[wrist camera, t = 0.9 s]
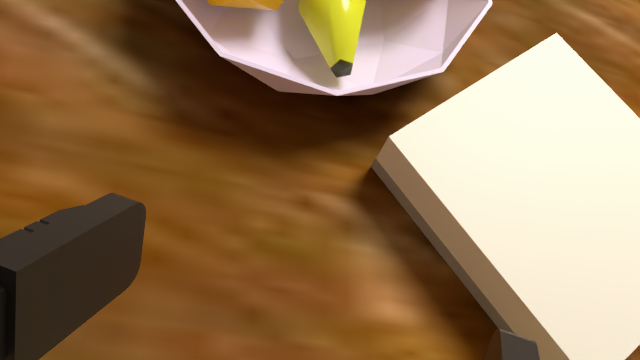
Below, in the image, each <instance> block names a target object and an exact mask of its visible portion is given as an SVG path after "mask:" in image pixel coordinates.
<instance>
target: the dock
mask: <svg viewBox="0 0 640 360" xmlns="http://www.w3.org/2000/svg"><path fill="white" fill-rule="evenodd" d="M371 168H372V169H373V170H374V171H375V173H376V174H377V175H378V176H379V178H380V179H381V180H382V181H383V183H384V184H385V185H386V187H387V188H388V189H389V190H390V192H391V193H392V194H393V195H394V197H395V198H396V199H397V201H398V202H399V203H400V204H401V206H402V207H403V208H404V209H405V211H406V212H407V213H408V215H409V216H410V217H411V218H412V220H413V221H414V222H415V223H416V225H417V226H418V227H419V228H420V230H421V231H422V232H423V234H424V235H425V236H426V237H427V239H428V240H429V241H430V242H431V244H432V245H433V246H434V248H435V249H436V250H437V251H438V253H439V254H440V255H441V256H442V258H443V259H444V260H445V262H446V263H447V264H448V265H449V267H450V268H451V269H452V270H453V272H454V273H455V274H456V276H457V277H458V278H459V279H460V281H461V282H462V283H463V284H464V286H465V287H466V288H467V289H468V291H469V292H470V293H471V295H472V296H473V297H474V298H475V300H476V301H477V302H478V303H479V305H480V306H481V307H482V309H483V310H484V311H485V312H486V314H487V315H488V316H489V317H490V319H491V320H492V321H493V323H494V324H495V325H496V326H497V328H499V329H502V330H505V331H507V332H510V333H513V334H516V335H519V336H522V337H525V338H527V339H530V340H533V341H535V342H536V343H537V347H538V353H539V358H540V360H625V359H626V358H627V357H628V356H629V355H630V354H631V353H632V352H633V351H634V350H635V349H636V348H637V347H638V346H639V345H640V118H639V117H638V116H637V115H636V114H635V113H634V112H633V111H632V110H631V109H630V108H629V107H628V106H627V105H626V104H625V103H624V102H623V101H622V100H621V99H620V98H619V97H618V96H617V95H616V94H615V93H614V92H613V91H612V89H611V88H610V87H609V86H608V85H607V84H606V83H605V82H604V81H603V80H602V79H601V78H600V77H599V76H598V75H597V74H596V73H595V72H594V71H593V70H592V69H591V68H590V67H589V66H588V65H587V64H586V63H585V62H584V61H583V59H582V58H581V57H580V56H579V55H578V54H577V53H576V52H575V51H574V50H573V49H572V48H571V47H570V46H569V45H568V44H567V43H566V42H565V41H564V40H563V39H562V38H561V37H560V36H559V35H558V34H557V33H555V34H554V35H552V36H551V37H549V38H547V39H546V40H544V41H542V42H541V43H539V44H538V45H536V46H534V47H533V48H531V49H530V50H528V51H526V52H525V53H523V54H521V55H520V56H518V57H517V58H515V59H513V60H512V61H510V62H508V63H507V64H505V65H504V66H502V67H500V68H499V69H497V70H496V71H494V72H492V73H491V74H489V75H487V76H486V77H484V78H483V79H481V80H479V81H478V82H476V83H475V84H473V85H471V86H470V87H468V88H466V89H465V90H463V91H462V92H460V93H458V94H457V95H455V96H453V97H452V98H450V99H449V100H447V101H445V102H444V103H442V104H441V105H439V106H437V107H436V108H434V109H432V110H431V111H429V112H428V113H426V114H424V115H423V116H421V117H420V118H418V119H416V120H415V121H413V122H411V123H410V124H408V125H407V126H405V127H403V128H402V129H400V130H399V131H397V132H395V133H394V134H392V135H390V136H389V137H388V139H387V140H386V142H385V144H384V146H383V147H382V149H381V151H380V152H379V154H378V156H377V157H376V159H375V161H374V162H373V164H372V166H371Z"/></svg>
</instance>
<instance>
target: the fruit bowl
mask: <svg viewBox="0 0 640 360" xmlns="http://www.w3.org/2000/svg"><path fill="white" fill-rule="evenodd" d="M176 2H177V3H178V4H179V6H180V7H181V8H182V9H183V11H184V12H185V13H186V15H187V16H188V17H189V18H190V20H191V21H192V22H193V24H194V25H195V26H196V27H197V29H198V30H199V31H200V33H201V34H202V35H203V36H204V38H205V39H206V40H207V41H208V43H209V44H210V45H211V46H212V47H213V49H214V50H215V51H216V52H217V53H218V55H219V56H221V57H222V58H224V59H226V60H227V61H229V62H230V63H232V64H234V65H235V66H237V67H239V68H240V69H242V70H244V71H245V72H247V73H249V74H250V75H252V76H253V77H255V78H257V79H258V80H260V81H262V82H263V83H265V84H267V85H268V86H270V87H272V88H273V89H275V90H277V91H280V92H293V93H306V94H319V95H333V96H348V95H373V94H376V93H379V92H382V91H385V90H389V89H392V88H395V87H398V86H401V85H404V84H407V83H410V82H413V81H417V80H420V79H423V78H426V77H429V76H432V75H435V74H438V73H441V72H444V70H445V69H446V68H447V66H448V65H449V64H450V62H451V61H452V59H453V58H454V57H455V55H456V54H457V52H458V51H459V50H460V48H461V47H462V45H463V44H464V43H465V41H466V40H467V39H468V37H469V36H470V34H471V33H472V32H473V30H474V29H475V27H476V26H477V25H478V23H479V22H480V20H481V19H482V18H483V16H484V15H485V14H486V12H487V11H488V9H489V8H490V7H491V5H492V0H176Z"/></svg>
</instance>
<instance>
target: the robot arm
mask: <svg viewBox="0 0 640 360" xmlns="http://www.w3.org/2000/svg"><path fill="white" fill-rule="evenodd" d="M145 219H146V209H145V206H144V204H142V203H140V202H137V201H135V200H132V199H129V198H126V197H123V196H120V195H117V194H115V193H110V194H107V195H105V196H103V197H101V198H99V199H97V200H95V201H93V202H91V203H89V204H87V205H85V206H84V205H82V206H78V207H73V208H68V209H64V210H59V211H57V212H55V213H53V214H51V215H49V216H47V217H45V218H43V219H40V222H37V221H36V222H34V223H32V224H30V225H28V226H26V227H25V228H24V230H22V229H20V230H18V231H16V232H14V233H11V234H9V235H7V236H5V237H3V238H1V239H0V360H38V359H40V358H41V357H42V356H43V355H45V354H46V353H47V352H48V351H50V350H51V349H52V348H53V347H55V346H56V345H57V344H58V343H60V342H61V341H62V340H63V339H65V338H66V337H67V336H68V335H70V334H71V333H72V332H73V331H75V330H76V329H77V328H78V327H80V326H81V325H82V324H83V323H85V322H86V321H87V320H88V319H90V318H91V317H92V316H93V315H95V314H96V313H97V312H98V311H100V310H101V309H102V308H103V307H105V306H106V305H107V304H108V303H110V302H111V301H112V300H113V299H115V298H116V297H117V296H118V295H120V294H121V293H122V292H123V291H125V290H126V289H127V288H128V287H129V286H130V285H131V283H132V282H133V280H134V279H135V277H136V275H137V273H138V270H139V267H140V262H141V253H142V245H143V236H144V228H145ZM482 360H540V358H539V353H538V347H537V343H536V342H535V341H533V340H530V339H527V338H525V337H522V336H519V335H516V334H513V333H510V332H507V331H505V330H502V329H499V328H498V329H496V331H495V332H494V334H493V336H492V338H491V340H490V342H489V345H488V347H487V350H486V352H485V354H484V357H483V359H482Z"/></svg>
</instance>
